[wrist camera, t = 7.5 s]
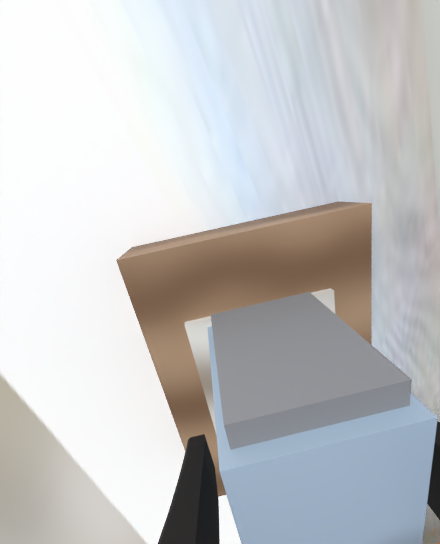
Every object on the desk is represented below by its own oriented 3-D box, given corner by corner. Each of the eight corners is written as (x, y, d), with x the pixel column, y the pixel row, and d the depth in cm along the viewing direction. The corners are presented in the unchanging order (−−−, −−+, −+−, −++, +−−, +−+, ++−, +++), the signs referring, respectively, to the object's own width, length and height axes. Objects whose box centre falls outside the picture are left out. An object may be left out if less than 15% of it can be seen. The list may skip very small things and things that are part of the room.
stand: (132, 247, 12) (114, 262, 10) (338, 201, 13) (376, 203, 10) (202, 458, 17) (203, 506, 15) (347, 422, 18) (374, 462, 15)
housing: (322, 414, 13) (417, 578, 8) (235, 435, 13) (264, 619, 7) (311, 286, 11) (441, 389, 5) (203, 311, 11) (211, 446, 5)
